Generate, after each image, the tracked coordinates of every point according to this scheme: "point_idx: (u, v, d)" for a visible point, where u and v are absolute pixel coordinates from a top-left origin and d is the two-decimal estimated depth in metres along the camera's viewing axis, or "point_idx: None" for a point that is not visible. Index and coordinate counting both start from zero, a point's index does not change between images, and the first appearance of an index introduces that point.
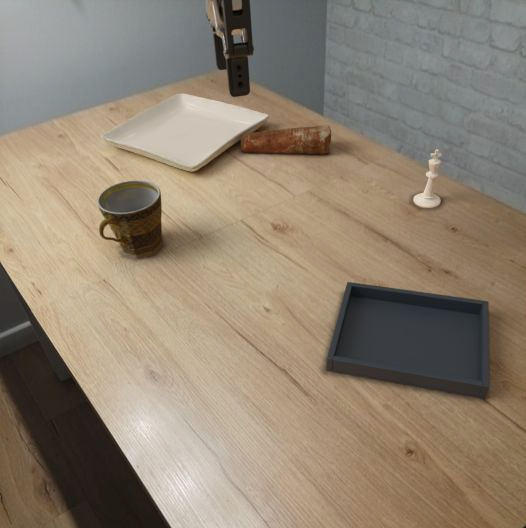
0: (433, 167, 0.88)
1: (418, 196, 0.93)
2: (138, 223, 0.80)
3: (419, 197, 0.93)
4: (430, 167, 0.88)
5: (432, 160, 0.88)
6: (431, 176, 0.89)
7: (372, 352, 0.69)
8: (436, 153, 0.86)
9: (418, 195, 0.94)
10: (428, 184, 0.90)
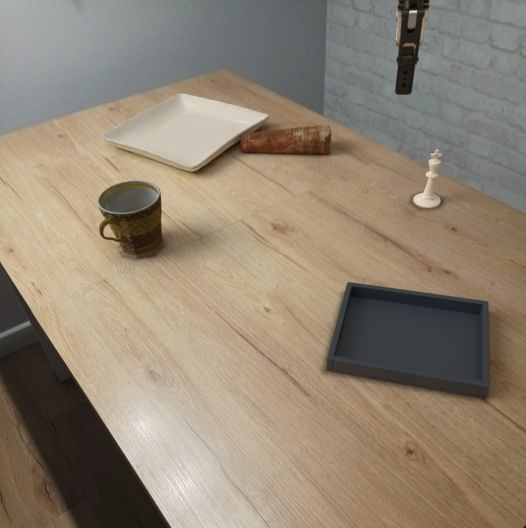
0: (433, 167, 0.88)
1: (418, 196, 0.93)
2: (138, 223, 0.80)
3: (419, 197, 0.93)
4: (430, 167, 0.88)
5: (432, 160, 0.88)
6: (431, 176, 0.89)
7: (372, 352, 0.69)
8: (436, 153, 0.86)
9: (418, 195, 0.94)
10: (428, 184, 0.90)
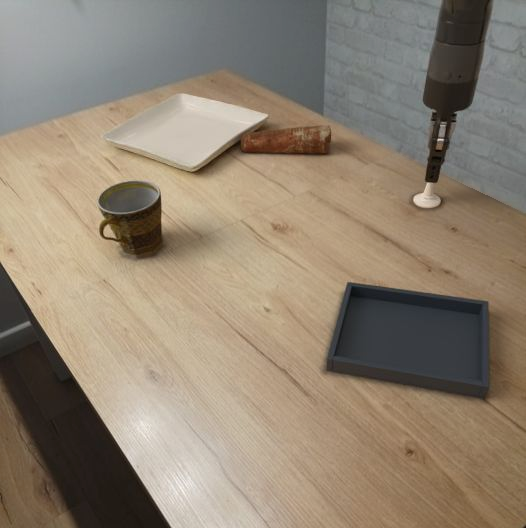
0: None
1: (418, 196, 0.93)
2: (138, 223, 0.80)
3: (419, 197, 0.93)
4: None
5: None
6: None
7: (372, 352, 0.69)
8: None
9: (418, 195, 0.94)
10: (428, 184, 0.90)
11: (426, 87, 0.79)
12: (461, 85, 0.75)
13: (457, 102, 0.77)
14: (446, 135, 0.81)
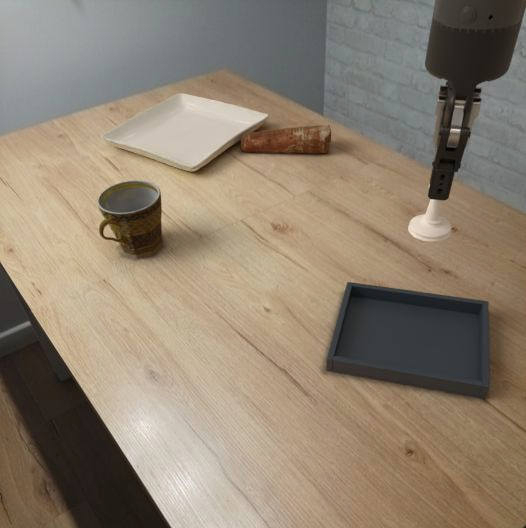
0: None
1: (417, 220, 0.61)
2: (138, 223, 0.80)
3: (418, 220, 0.60)
4: None
5: None
6: None
7: (372, 352, 0.69)
8: None
9: (417, 218, 0.61)
10: (432, 202, 0.58)
11: (431, 41, 0.46)
12: (493, 34, 0.43)
13: (485, 65, 0.45)
14: (464, 123, 0.49)
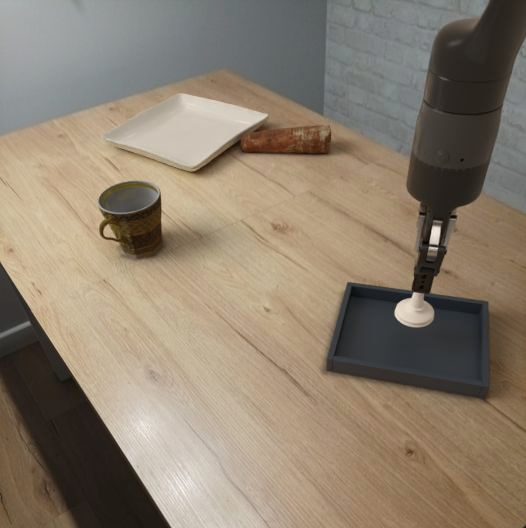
0: None
1: (402, 305, 0.66)
2: (138, 223, 0.80)
3: (404, 306, 0.66)
4: None
5: None
6: None
7: (372, 352, 0.69)
8: None
9: (402, 303, 0.66)
10: None
11: (411, 169, 0.51)
12: (465, 172, 0.48)
13: (458, 195, 0.50)
14: (442, 237, 0.54)
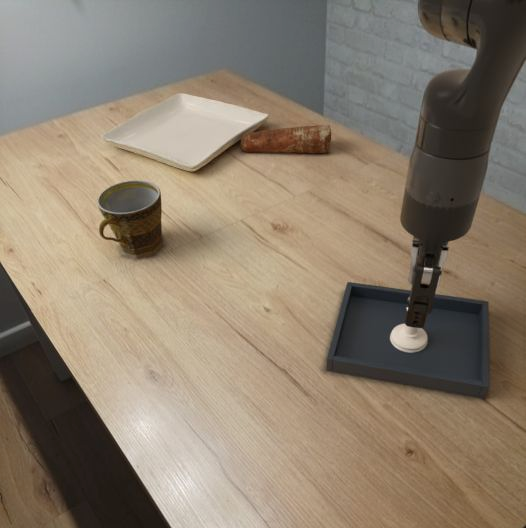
0: None
1: (397, 331, 0.70)
2: (138, 223, 0.80)
3: (399, 332, 0.69)
4: None
5: None
6: None
7: (372, 352, 0.69)
8: None
9: (397, 329, 0.70)
10: None
11: (404, 205, 0.54)
12: (455, 210, 0.51)
13: (449, 231, 0.53)
14: None
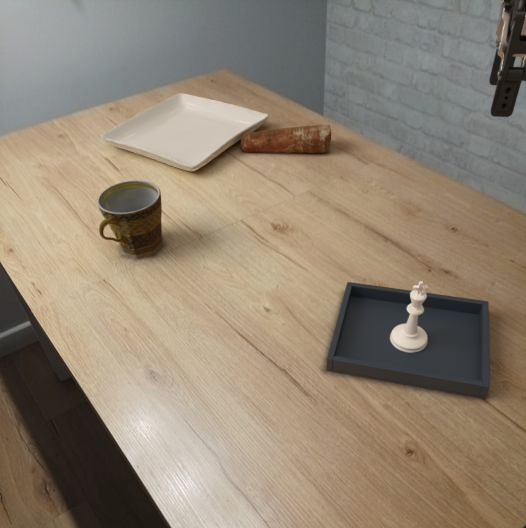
0: (416, 303, 0.64)
1: (397, 331, 0.70)
2: (138, 223, 0.80)
3: (399, 332, 0.69)
4: (412, 302, 0.64)
5: (415, 293, 0.64)
6: (414, 313, 0.65)
7: (372, 352, 0.69)
8: (420, 286, 0.63)
9: (397, 329, 0.70)
10: (410, 320, 0.67)
11: None
12: None
13: None
14: None
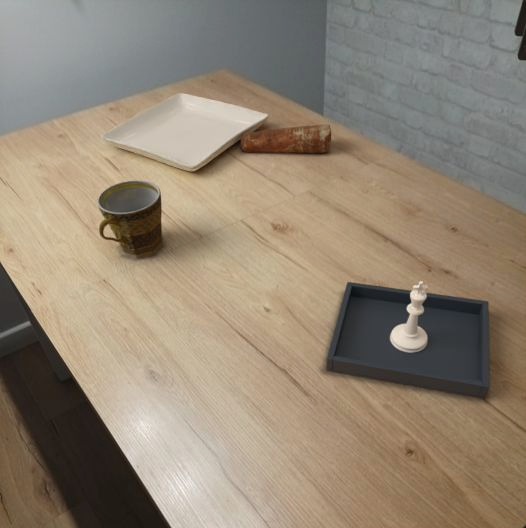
0: (416, 303, 0.64)
1: (397, 331, 0.70)
2: (138, 223, 0.80)
3: (399, 332, 0.69)
4: (412, 302, 0.64)
5: (415, 293, 0.64)
6: (414, 313, 0.65)
7: (372, 352, 0.69)
8: (420, 286, 0.63)
9: (397, 329, 0.70)
10: (410, 320, 0.67)
11: None
12: None
13: None
14: None
